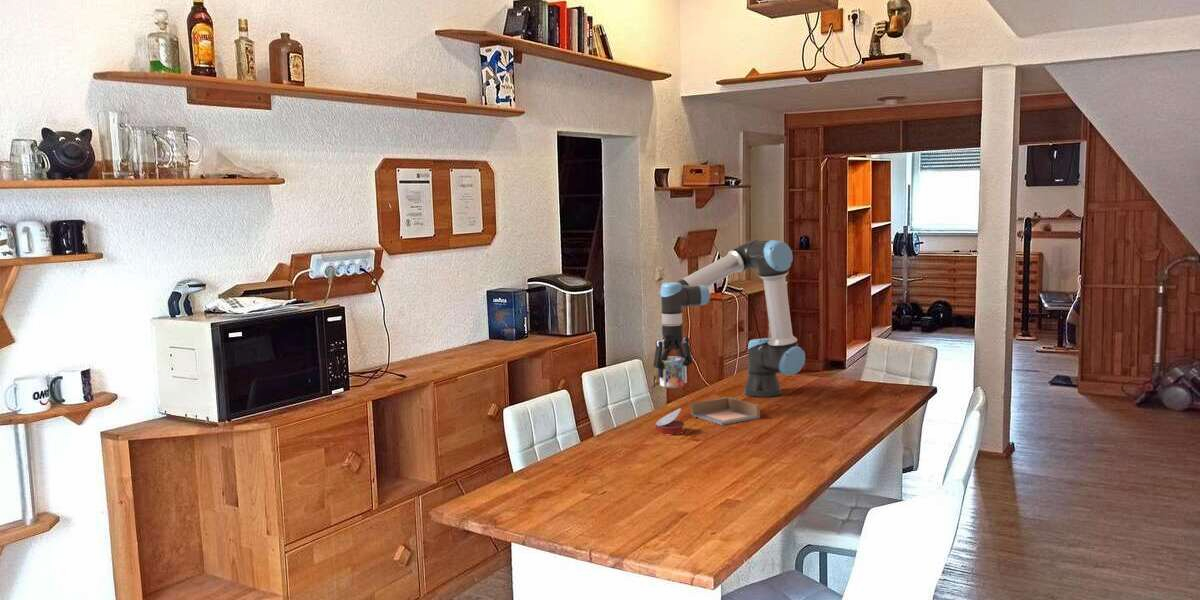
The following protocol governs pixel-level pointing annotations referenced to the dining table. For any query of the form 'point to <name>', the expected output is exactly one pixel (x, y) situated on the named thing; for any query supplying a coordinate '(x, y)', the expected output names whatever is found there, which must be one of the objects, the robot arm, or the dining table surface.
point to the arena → (725, 410)
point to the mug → (673, 371)
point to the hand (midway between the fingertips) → (673, 384)
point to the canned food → (670, 424)
